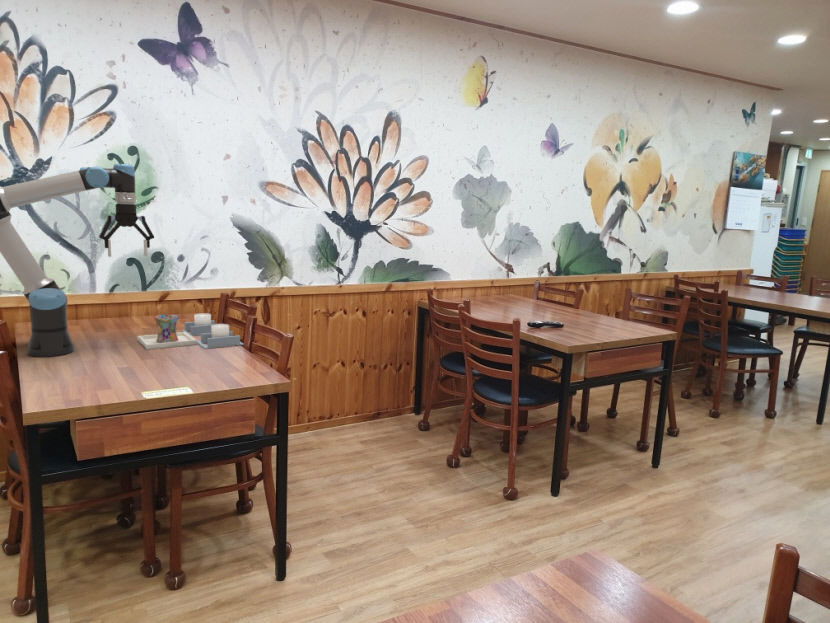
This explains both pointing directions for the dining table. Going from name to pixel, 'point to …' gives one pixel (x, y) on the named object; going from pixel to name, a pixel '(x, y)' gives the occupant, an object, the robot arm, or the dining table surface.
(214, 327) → the white rounded egg
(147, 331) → the dining table surface
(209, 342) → the rack
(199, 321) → the white glossy dome
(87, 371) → the dining table surface
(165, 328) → the mug
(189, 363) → the dining table surface
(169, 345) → the tray
